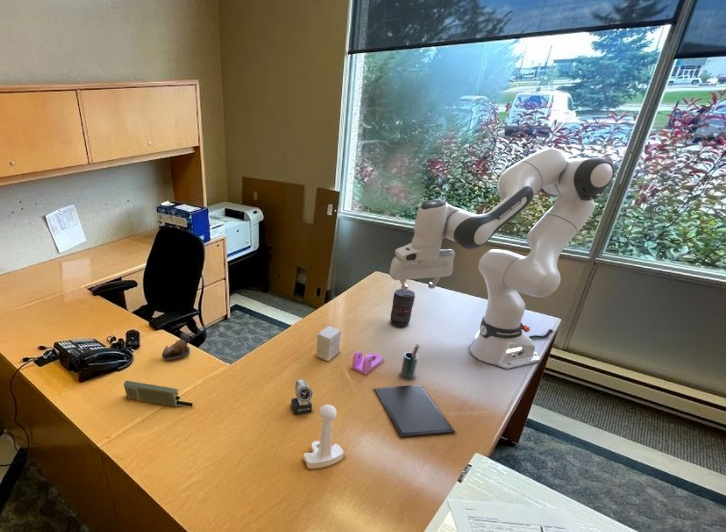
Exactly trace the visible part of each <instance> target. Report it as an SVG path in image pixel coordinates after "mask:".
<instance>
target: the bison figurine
mask: <svg viewBox="0 0 726 532" xmlns="http://www.w3.org/2000/svg"><path fill="white" fill-rule="evenodd" d="M179 338H180V339H178V340H176V341H175V342H174V343H172V344H171V345H170V346H168V345H165V347H164V348H163V351H162V353H161V358H162V359H163V360H164V361H172V360H177V359H181V358H185V357H187V356H189V355H190V353H191V348H190V347H189V346H188V344H189V342H190V339H191V337H190V333H189V332H183V333H180V337H179Z"/></svg>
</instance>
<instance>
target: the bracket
mask: <svg viewBox="0 0 726 532" xmlns="http://www.w3.org/2000/svg"><path fill="white" fill-rule="evenodd" d="M373 359H374V360H373ZM382 362H383V357H382V355H380V354H379V353H376V352H370V353H368V354H366V355H364V356H363V352H362V351H359V350H356V351H355V352H354V353H353V356H352V362H351V369H353V370H355V371H358V372H359V373H361V374H363V375H366V374H368V373H369V372H371V371H372V370H373V369H375V367H377V366H378V365H380V364H381V363H382Z"/></svg>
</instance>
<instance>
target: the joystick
mask: <svg viewBox="0 0 726 532" xmlns="http://www.w3.org/2000/svg"><path fill="white" fill-rule="evenodd" d="M337 412H338V411H337V409H336V408H335V407H334V406H333V405H331V404H323V405H321V407H320V409H319V410H318V414H319V418H320V419H321V420H322V422H321V430H320V436H319V440H315V441H313V442H312V443H311V448H310V449H311V452H304V453H303V458H302V459H303V461H304V462H305V466H306V467H307V468H308V469H320V468H325V467H329V466H332V465H334V464H337V463H338V462H340V461H341V460H343V458H344V453H345V451H344V450H343V448H342V446H340V445H339V443H335V444H333V445H332V438H333V437H332V435H333V434H332V433H333V432H332V431H333V429H332V428H333V421H335V419H337Z"/></svg>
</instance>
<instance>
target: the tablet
mask: <svg viewBox="0 0 726 532" xmlns="http://www.w3.org/2000/svg"><path fill="white" fill-rule="evenodd" d="M374 391H375V393H376V395H377V396H378V398H379V400H380V401H381V403H382V405H383V407H384V409H385V411H386V413H387V414H388V416H389V419H390V421H391V422H392V424H393V426H394V428H395V429H396V431H397V434H398V435H399V437H400V438H413V437H426V436H439V435H450V434H452V435H453V434H455V429H454V428H453V426H451V424H450V423H449V421H448V420H447V419H446V417H445V416H444V414H443V413H442V412H441V410H440V409H439V408H438V406H437V405H436V404H435V402H434V401H433V400H432V398H431V396H430V395H429V394H428V393H427V391H426V389H425V388H424V387H423V386H422V385H421V384H411V385H399V386H388V387H375V388H374Z"/></svg>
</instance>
